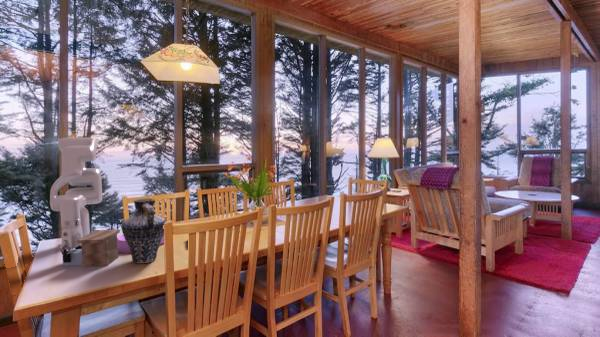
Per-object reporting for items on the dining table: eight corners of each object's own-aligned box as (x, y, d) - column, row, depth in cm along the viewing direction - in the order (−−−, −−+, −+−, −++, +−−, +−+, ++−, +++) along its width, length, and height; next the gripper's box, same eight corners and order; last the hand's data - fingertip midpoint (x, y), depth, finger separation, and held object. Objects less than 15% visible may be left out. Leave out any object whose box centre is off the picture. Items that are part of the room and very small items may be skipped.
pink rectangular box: (120, 254, 171) (119, 229, 170) (115, 247, 183) (114, 223, 182) (170, 245, 186) (169, 222, 185) (162, 239, 198) (162, 217, 197)
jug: (116, 261, 162) (113, 199, 159) (155, 250, 177) (153, 194, 174) (135, 271, 149) (132, 205, 146) (176, 259, 164) (174, 199, 161)
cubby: (79, 269, 152) (77, 240, 151) (98, 256, 169) (96, 230, 168) (104, 268, 153) (102, 239, 152) (120, 255, 170) (119, 229, 169)
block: (63, 266, 157) (62, 253, 156) (70, 261, 162) (69, 249, 162) (103, 264, 158) (102, 252, 158) (109, 260, 164) (108, 248, 164)
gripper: (68, 227, 150) (70, 265, 151) (89, 219, 167) (91, 252, 168) (50, 228, 149) (53, 265, 150) (73, 219, 166) (75, 253, 168)
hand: (73, 258), depth 159 cm, fingers open, 9 cm apart
